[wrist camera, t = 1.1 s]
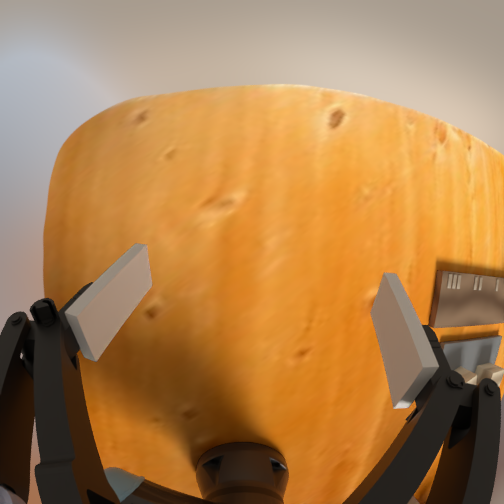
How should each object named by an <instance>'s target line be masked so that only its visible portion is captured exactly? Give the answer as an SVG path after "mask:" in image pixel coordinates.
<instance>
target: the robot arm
mask: <svg viewBox="0 0 504 504" xmlns="http://www.w3.org/2000/svg"><path fill="white" fill-rule="evenodd" d="M151 287H152V278H151V272H150V265H149V258H148V250H147V245H145V244H137V243H136V244H134V245H133V246H132V247H131V248H130V249H129V250H128V251H127V252H126V253H124V254H123V255H122V256H121V257H120V258H119V259H118V260H117V261H116V262H115V263H114V264H113V265H111V266H110V267H109V268H108V269H107V270H106V271H105V272H104V273H103V274H102V275H101V276H100V277H99V278H98V279H97V280H96V281H95V282H94V283H93V282H91V283H89V284H87V285H86V286H84V287H83V288H82V289H81V290H80V291H78V292H77V294H75V295H74V296H73V299H72V298H71V299H70V300H69V301H68V302H67V304H66V305H65V306H64V307H63V308H62V309H61V310H60V311H59V312H58V311H57V309H56V306H55V304H54V301H53V300H52V299H49V298H44V299H41V300H38V301H36V302H35V303H34V304H33V305H32V306H31V308H30V312H31V314H32V316H33V318H34V321H30V320H29V319H28V317H27V315H26V313H24V312H16V313H14V314H12V315H11V316H10V317H9V318H8V320H7V322H6V324H5V326H4V328H3V330H2V332H1V335H0V504H27V502H28V496H29V486H30V485H29V484H30V458H31V444H32V433H33V426H34V418H35V420H36V421H35V422H36V431H37V439H38V447H39V453H40V459H41V460H40V461H41V462H40V464H38V465H36V466H35V477H36V482H37V486H38V490H39V495H40V498H41V502H42V504H284V502H283V497H284V494H285V490H286V486H287V482H288V478H289V472H288V467H287V463H286V461H285V459H284V457H283V456H282V455H281V454H280V453H279V452H277V451H276V450H274V449H272V448H270V447H268V446H265V445H261V444H256V443H249V442H236V443H228V444H223V445H220V446H217V447H214V448H212V449H210V450H209V451H207V452H206V453H205V454H203V455H202V456H201V458H200V459H199V461H198V464H197V470H196V479H197V483H198V486H199V488H200V491H201V494H202V497H203V499H201V498H198V497H194V496H191V495H187V494H184V493H181V492H178V491H175V490H172V489H169V488H166V487H164V486H161V485H158V484H156V483H153V482H151V481H148V480H146V479H145V478H144V477H143V476H140V477H139V476H137V475H134V474H132V473H129V472H127V471H124V470H122V469H120V468H116V467H109V468H106V469H103V466H102V463H101V460H100V457H99V453H98V450H97V447H96V443H95V440H94V436H93V432H92V428H91V424H90V420H89V416H88V411H87V406H86V401H85V396H84V391H83V385H82V379H81V372H80V365H79V358H78V356H77V352H78V351H79V350H81V352H82V354H83V356H84V357H85V358H87V359H90V360H92V361H95V362H97V360H98V359H99V358H100V356H101V355H102V353H103V352H104V350H105V349H106V348H107V346H108V345H109V343H110V342H111V340H112V339H113V338H114V336H115V335H116V333H117V332H118V331H119V329H120V328H121V327H122V325H123V324H124V322H125V321H126V320H127V318H128V317H129V316H130V314H131V313H132V312H133V310H134V309H135V308H136V306H137V305H138V304H139V302H140V301H141V300H142V298H143V297H144V296H145V294H146V293H147V292H148V290H149V289H150V288H151ZM370 313H371V317H372V320H373V324H374V327H375V331H376V335H377V338H378V342H379V346H380V350H381V354H382V358H383V362H384V366H385V371H386V375H387V379H388V384H389V389H390V393H391V398H392V403H393V409H396V408H409V406H410V405H411V404H412V403H413V401H414V400H415V402H416V406H417V407H416V408H415V409H414V411H413V412H412V413H411V414H410V415H409V416H408V417H407V419H406V420H407V422H406V423H405V425H404V427H403V428H402V430H401V431H400V433H399V434H398V436H397V437H396V439H395V440H394V441H393V443H392V444H391V446H390V447H389V449H388V450H387V451H386V453H385V454H384V455H383V457H382V458H381V459H380V461H379V462H378V463H377V465H376V466H375V467H374V468H373V470H372V471H371V472H370V473H369V474H368V476H367V477H366V478H365V479H364V480H363V482H362V483H361V484H360V485H359V486H358V487H357V488H356V490H355V491H354V492H353V493H352V494H351V495H350V496H349V497H348V498H347V499H346V500H345V501H344V502H343V503H342V504H408V502H409V501H410V499H411V498H412V496H413V495H414V493H415V492H416V490H417V489H418V487H419V485H420V484H421V482H422V481H423V479H424V477H425V476H426V474H427V472H428V470H429V469H430V467H431V465H432V463H433V461H434V460H435V458H436V456H437V454H438V452H439V450H440V448H441V446H442V444H443V442H444V444H443V448H442V453H441V457H440V460H439V464H438V468H437V471H436V475H435V478H434V481H433V484H432V487H431V490H430V493H429V496H428V499H427V502H426V504H490V501H491V496H492V492H493V487H494V481H495V475H496V469H497V462H498V453H499V442H500V424H501V423H500V422H501V395H500V388H499V386H498V384H497V383H496V382H495V381H494V380H492V379H490V378H484V379H482V380H481V382H480V383H479V384H478V385H474V384H469V383H465V380H464V378H463V377H462V375H461V374H459V373H458V372H456V371H454V370H451V368H450V366H449V363H448V361H447V359H446V356H445V354H444V352H443V349H442V348H441V345H440V343H439V342H438V338H437V336H436V334H435V332H434V331H433V330H432V329H431V328H430V327H429V326H428V325H421V323H420V320H419V318H418V316H417V314H416V312H415V310H414V308H413V306H412V304H411V301H410V299H409V297H408V295H407V293H406V291H405V290H404V288H403V286H402V284H401V282H400V280H399V278H398V276H397V274H393V273H384V274H383V277H382V280H381V283H380V287H379V290H378V293H377V295H376V298H375V301H374V304H373V307H372V310H371V312H370ZM21 353H22V354H23V357H22V359H21V358H20V355H21Z"/></svg>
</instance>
